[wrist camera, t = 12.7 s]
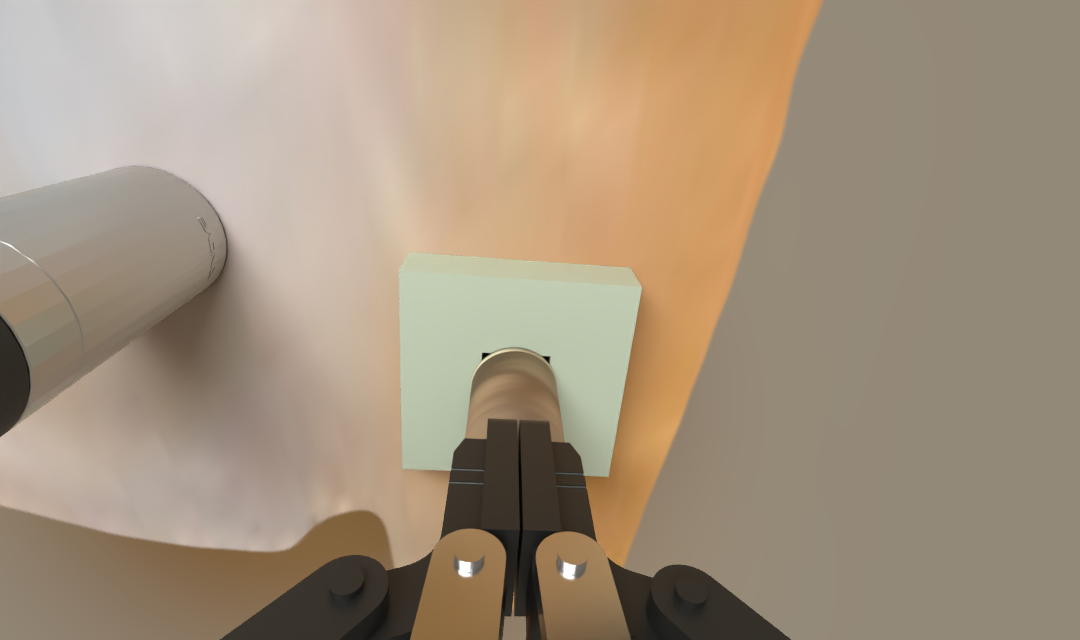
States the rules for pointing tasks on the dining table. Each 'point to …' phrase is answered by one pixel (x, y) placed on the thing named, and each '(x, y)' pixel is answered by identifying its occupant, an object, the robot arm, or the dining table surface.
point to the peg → (513, 392)
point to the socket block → (512, 345)
